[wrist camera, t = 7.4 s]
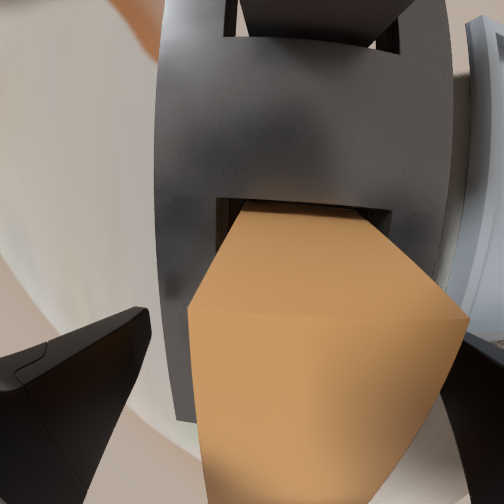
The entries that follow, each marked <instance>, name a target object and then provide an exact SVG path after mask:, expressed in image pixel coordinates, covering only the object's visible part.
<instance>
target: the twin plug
mask: <svg viewBox="0 0 504 504" xmlns="http://www.w3.org/2000/svg"><path fill="white" fill-rule="evenodd" d="M414 1H415V0H240V4H241V7H242V11H243V15H244V19H245V22H246V26H247V30H248V34H249V37H276V38H293V39H305V40H316V41H324V42H332V43H340V44H346V45H353V46H359V47H364V48H368V47H369V46H370V45H371V44H372V43H373V42H374V41H375V40H376V39H377V38H378V37H379V36H380V35H381V34H382V33H383V32H384V31H385V30H386V29H387V28H388V27H389V26H390V25H391V24H392V22H393V21H394V20H395V19H396V18H397V17H399V16H400V15H401V14H402V13H403V12H404V11H405V10H406V9H407V8H408V7H409V6H410V5H411V4H412V3H413V2H414Z"/></svg>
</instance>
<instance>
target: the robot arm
mask: <svg viewBox="0 0 504 504" xmlns="http://www.w3.org/2000/svg"><path fill="white" fill-rule="evenodd" d="M151 335H152V331H151V323H150V315H149V311H148V309H147V308H144V307H137V306H136V307H132V308H130V309H127V310H125V311H122V312H120V313H117V314H115V315H112V316H110V317H107V318H105V319H102V320H100V321H97V322H95V323H92V324H90V325H87V326H85V327H82V328H80V329H77V330H75V331H72V332H70V333H67V334H64V335H62V336H59V337H57V338H54V339H52V340H49V341H48V342H44V343H41V344H39V345H36V346H34V347H31V348H28V349H26V350H23V351H20V352H17V353H14V354H11V355H8V356H4V357H1V358H0V504H83V502H84V499H85V497H86V494H87V490H88V489H89V486H90V484H91V481H92V479H93V477H94V474H95V472H96V469H97V467H98V465H99V462H100V460H101V458H102V455H103V453H104V451H105V448H106V446H107V444H108V441H109V439H110V437H111V435H112V432H113V430H114V428H115V426H116V423H117V421H118V419H119V417H120V414H121V412H122V410H123V408H124V406H125V404H126V401H127V399H128V397H129V395H130V393H131V391H132V389H133V386H134V384H135V382H136V380H137V378H138V375H139V372H140V369H141V366H142V363H143V360H144V357H145V354H146V351H147V348H148V345H149V343H150V340H151ZM440 395H441V397H442V400H443V403H444V406H445V409H446V412H447V415H448V418H449V421H450V424H451V427H452V430H453V434H454V437H455V440H456V444H457V447H458V451H459V454H460V458H461V462H462V465H463V469H464V473H465V477H466V482H467V486H468V490H469V495H470V500H471V504H504V349H502V348H500V347H498V346H496V345H494V344H492V343H490V342H488V341H486V340H484V339H481V338H479V337H477V336H475V335H473V334H471V333H469V332H467V331H466V333H465V335H464V338H463V341H462V343H461V346H460V348H459V350H458V353H457V355H456V358H455V360H454V362H453V365H452V367H451V369H450V371H449V373H448V376H447V378H446V380H445V382H444V384H443V386H442V388H441V390H440Z"/></svg>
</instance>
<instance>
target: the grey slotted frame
mask: <svg viewBox="0 0 504 504" xmlns="http://www.w3.org/2000/svg"><path fill="white" fill-rule="evenodd" d="M237 4H238V0H165V7H164V14H163V22H162V31H161V40H160V49H159V60H158V72H157V87H156V104H155V129H154V210H155V236H156V254H157V269H158V283H159V294H160V305H161V315H162V324H163V333H164V341H165V349H166V357H167V364H168V371H169V378H170V384H171V390H172V396H173V402H174V408H175V414H176V419H177V420H179V421H185V422H191V423H197V418H196V409H195V400H194V389H193V379H192V367H191V355H190V341H189V326H188V309H187V308H188V306H189V304H190V302H191V301H192V299H193V297H194V295H195V293H196V291H197V289H198V287H199V286H200V284H201V282H202V280H203V278H204V276H205V275H206V273H207V271H208V269H209V267H210V265H211V264H212V262H213V260H214V258H215V256H216V254H217V253H218V251H219V249H220V247H221V245H222V244H223V242H224V240H225V238H226V236H227V234H228V198H247V199H265V200H282V201H297V202H310V203H323V204H335V205H346V206H357V207H367V208H368V215H367V221H368V222H369V223H370V224H372V225H373V226H374V227H375V228H376V229H377V230H379V231H380V232H381V233H382V234H383V235H384V236H385V237H387V238H388V239H389V240H390V241H391V242H392V243H393V244H394V245H396V246H397V247H398V248H399V249H400V250H401V251H402V252H403V253H404V254H405V255H407V256H408V257H409V258H410V259H411V260H412V261H413V262H414V263H415V264H416V265H417V266H418V267H419V268H421V269H422V270H423V271H424V272H425V273H426V274H427V275H428V276H429V277H430V278H431V279H432V276H433V272H434V267H435V263H436V258H437V254H438V249H439V244H440V239H441V233H442V228H443V222H444V216H445V209H446V202H447V195H448V187H449V178H450V168H451V156H452V141H453V108H454V100H453V68H452V53H451V42H450V33H449V24H448V17H447V11H446V5H445V0H415V1H414V2H413V3H412V4H411V5H410V6H409V7H408V8H407V9H406V10H405V11H404V12H403V13H402V14H401V15H400V16H399V17H397V18H396V19H395V20H394V21H393V22H392V24H391V25H390V26H389V27H388V28H387V29H386V30H385V31H384V32H383V33H382V34H381V35H380V36H379V37H378V38H377V39H376V50H375V49H369V48H364V47H359V46H353V45H346V44H340V43H332V42H324V41H316V40H305V39H293V38H276V37H235V35H236V18H237Z"/></svg>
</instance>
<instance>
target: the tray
mask: <svg viewBox="0 0 504 504" xmlns="http://www.w3.org/2000/svg"><path fill="white" fill-rule="evenodd" d="M465 28H466V34H467V43H468V53H469V65H470V82H471V136H470V154H469V166H468V176H467V185H466V193H465V201H464V208H463V214H462V220H461V226H460V231H459V237H458V242H457V246H456V251H455V256H454V260H453V264H452V269H451V273H450V277H449V281H448V284H447V288H446V292H445V293H446V294H447V295H448V296H449V297H450V298H451V299H452V300H453V301H454V302H455V303H456V304H457V305H458V306H459V307H460V308H461V309H462V310H463V311H464V312H465V313H466V314H467V316H468V317H469V318H470V322H469V325H468V327H467V330H466V331H467V332H469V333H471V334H473V335H475V336H477V337H479V338H481V339H484V340H486V341H488V342H492V341H501V340H504V26H503V25H501V24H499V23H498V22H496V21H494V20H492V19H490V18H488V17H486V16H484V15H481V16H479V17H477V18H476V19H474V20H472V21H470V22H468V23H466V24H465Z"/></svg>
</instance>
